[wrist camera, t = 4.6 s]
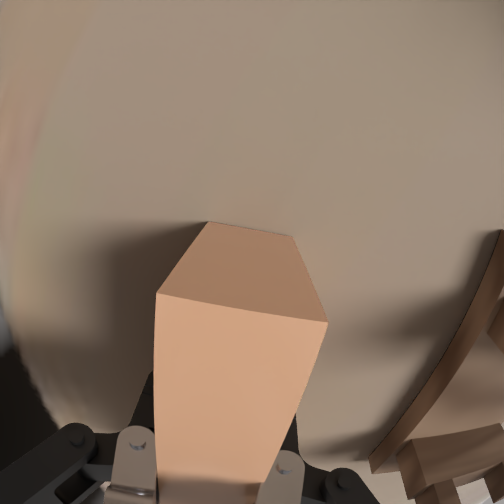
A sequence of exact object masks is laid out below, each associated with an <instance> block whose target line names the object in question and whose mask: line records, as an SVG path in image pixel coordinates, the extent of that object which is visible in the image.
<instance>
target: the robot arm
mask: <svg viewBox="0 0 504 504" xmlns="http://www.w3.org/2000/svg"><path fill="white" fill-rule="evenodd" d="M105 481H110V482H111V483H110V486H108V487H107V489H106V491H105V497H104V504H160V493H159V487H158V476H157V463H156V447H155V426H154V370H153V371H152V372H151V373H150V374H149V376H148V379H147V381H146V384H145V386H144V389H143V391H142V394H141V396H140V399H139V401H138V404H137V407H136V409H135V412H134V414H133V417H132V420H131V422H130V424H129V425H128V427H126V428H125V429H123V430H122V431H120V432H117V433H112V434H107V433H93V431H92V430H91V429H90V428H89V427H88V426H86V425H84V424H81V423H70V424H68V425H66V426H64V427H63V428H61V429H60V430H59V431H57V432H56V433H55V434H53V435H52V436H50V437H49V438H48V439H46V440H45V441H43V442H42V443H41V444H39V445H38V446H37V447H35V448H34V449H32V450H31V451H30V452H28V453H27V454H25V455H24V456H23V457H21V458H20V459H18V460H17V461H15V462H14V463H12V464H11V465H10V466H8V467H7V468H5V469H4V470H2V471H1V472H0V504H79V503H80V502H82V501H83V500H84V499H85V498H86V497H88V496H89V495H90V494H91V493H92V492H93V491H95V490H96V489H97V488H98V487H99V486H100V485H101V484H103V483H104V482H105ZM254 504H380V503H379V502H378V501H377V499H376V498H375V497H374V495H373V494H372V493H371V491H370V490H369V489H368V487H367V486H366V485H365V483H364V482H363V481H362V479H361V478H360V476H359V475H358V474H357V473H356V472H354V471H353V470H351V469H348V468H337V469H334V470H332V471H331V472H328V471H325V470H321V469H318V468H315V467H312V466H310V465H308V464H307V463H306V462H305V461H304V460H303V459H302V458H301V456H300V454H299V450H298V436H297V423H296V413H295V415H294V418H293V420H292V422H291V425H290V427H289V430H288V432H287V434H286V436H285V439H284V441H283V443H282V446H281V448H280V450H279V452H278V454H277V457H276V459H275V461H274V463H273V465H272V467H271V469H270V472H269V474H268V476H267V478H266V480H265V482H261V483H260V485H259V487H258V490H257V494H256V498H255V502H254Z"/></svg>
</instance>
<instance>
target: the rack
mask: <svg viewBox="0 0 504 504" xmlns="http://www.w3.org/2000/svg"><path fill="white" fill-rule="evenodd" d="M503 421H504V230H502V229H501V232H500V235H499V238H498V241H497V244H496V246H495V249H494V252H493V254H492V257H491V260H490V262H489V265H488V267H487V270H486V272H485V274H484V277H483V279H482V281H481V284H480V286H479V288H478V291H477V293H476V295H475V297H474V299H473V301H472V303H471V305H470V308H469V310H468V312H467V314H466V316H465V318H464V320H463V321H462V323H461V325H460V327H459V329H458V331H457V333H456V335H455V336H454V338H453V340H452V342H451V344H450V345H449V347H448V349H447V350H446V352H445V354H444V356H443V357H442V359H441V361H440V362H439V364H438V365H437V367H436V369H435V370H434V372H433V373H432V375H431V376H430V378H429V379H428V381H427V383H426V384H425V386H424V387H423V388H422V390H421V391H420V393H419V394H418V396H417V397H416V399H415V400H414V401H413V403H412V404H411V405H410V407H409V408H408V410H407V411H406V412H405V414H404V415H403V416H402V418H401V419H400V420H399V421H398V423H397V424H396V425H395V427H394V428H393V429H392V430H391V432H390V433H389V434H388V435H387V436H386V438H385V439H384V440H383V441H382V442H381V444H380V445H379V446H378V447H377V448H376V449H375V451H374V452H373V453H372V454H371V455H370V456H369V457H368V459H369V463H370V468H371V472H372V474H379V473H388V472H395V471H400V472H401V476H402V480H403V483H404V487H405V491H406V495H407V498H408V500H409V499H414V498H415V502H416V504H461V502H460V499H459V496H458V493H457V490H456V488H455V487H458V486H462V485H465V484H468V483H470V482H473V481H476V480H479V479H481V478H484V480H485V482H486V485H487V488H488V490H489V493H490V495H491V498H492V501H493V503H495V502H497V501H499V500H501V499H503V498H504V430H503V428H502V426H501V424H502V423H503Z"/></svg>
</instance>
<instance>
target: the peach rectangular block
mask: <svg viewBox="0 0 504 504" xmlns="http://www.w3.org/2000/svg"><path fill="white" fill-rule="evenodd" d="M328 324H329V322H328V319H327V317H326V315H325V312H324V310H323V307H322V305H321V302H320V300H319V298H318V295H317V293H316V290H315V288H314V286H313V283H312V281H311V278H310V276H309V274H308V271H307V269H306V267H305V264H304V262H303V260H302V257H301V255H300V253H299V251H298V248H297V246H296V244H295V241H294V239H293V237H291V236H285V235H280V234H275V233H269V232H264V231H258V230H253V229H248V228H242V227H236V226H231V225H225V224H220V223H214V222H208V223H207V224H206V225H205V227H204V228H203V229H202V231H201V232H200V233H199V235H198V236H197V237H196V239H195V240H194V241H193V243H192V244H191V245H190V247H189V248H188V249H187V251H186V252H185V254H184V255H183V256H182V258H181V259H180V260H179V262H178V263H177V265H176V266H175V267H174V269H173V270H172V272H171V273H170V274H169V276H168V277H167V279H166V280H165V281H164V283H163V284H162V286H161V287H160V288H159V290H158V291H157V293H156V309H155V331H154V426H155V447H156V463H157V476H158V487H159V493H160V504H254V502H255V498H256V494H257V490H258V487H259V485H260V483H261V482H265V480H266V478H267V476H268V474H269V472H270V469H271V467H272V465H273V463H274V461H275V459H276V457H277V454H278V452H279V450H280V448H281V446H282V443H283V441H284V439H285V436H286V434H287V432H288V430H289V427H290V425H291V422H292V420H293V418H294V415H295V413H296V410H297V408H298V406H299V403H300V401H301V398H302V395H303V393H304V390H305V388H306V385H307V383H308V380H309V377H310V375H311V372H312V369H313V367H314V364H315V361H316V358H317V356H318V353H319V350H320V347H321V344H322V341H323V338H324V336H325V333H326V330H327V327H328Z"/></svg>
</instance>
